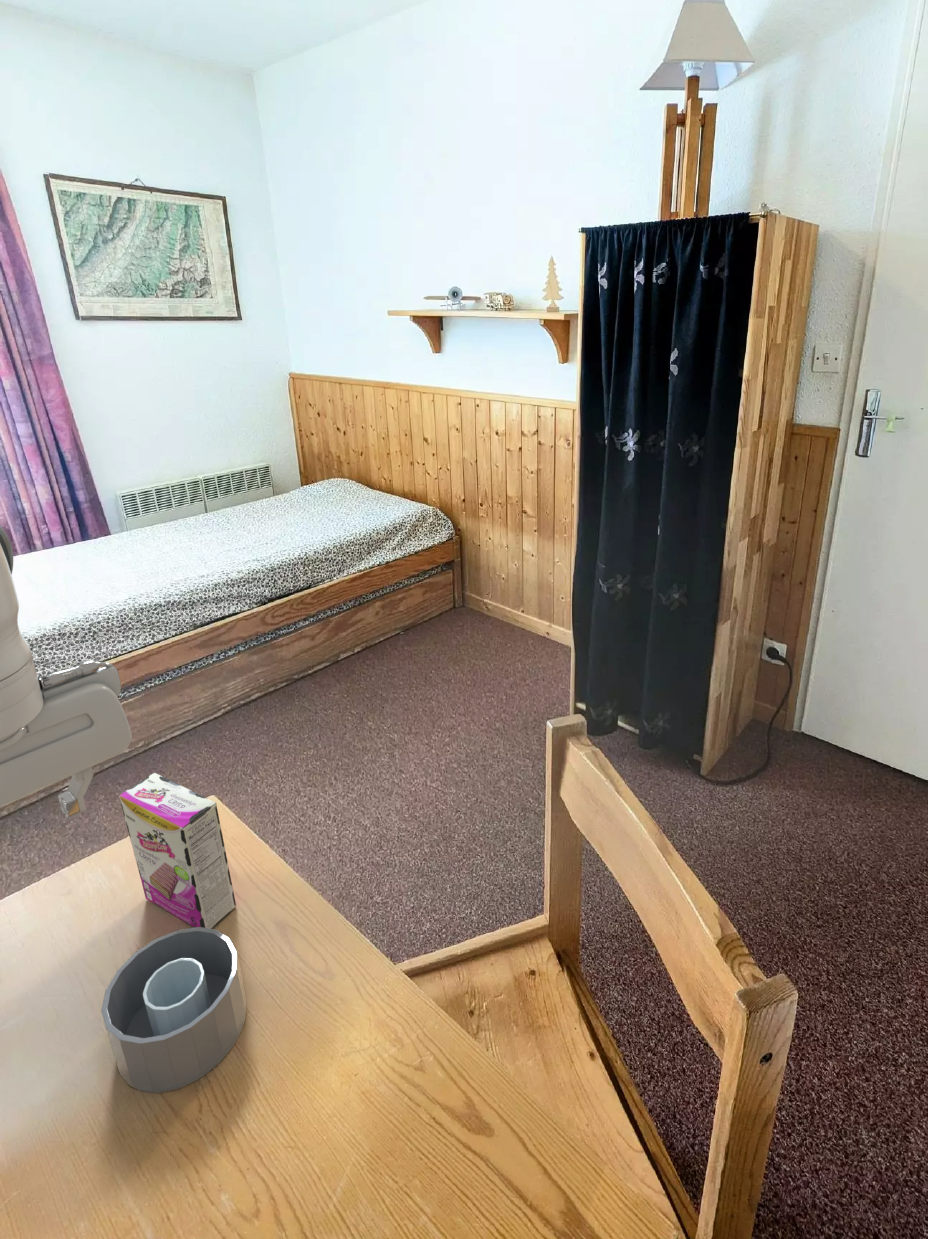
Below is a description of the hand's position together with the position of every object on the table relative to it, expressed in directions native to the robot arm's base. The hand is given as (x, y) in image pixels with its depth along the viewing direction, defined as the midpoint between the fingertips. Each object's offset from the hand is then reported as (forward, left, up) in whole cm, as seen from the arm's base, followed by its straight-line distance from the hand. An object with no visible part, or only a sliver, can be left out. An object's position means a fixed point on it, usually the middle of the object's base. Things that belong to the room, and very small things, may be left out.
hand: (12, 841), depth 57 cm
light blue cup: (+5, +8, -27) cm, 28 cm away
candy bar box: (-9, +15, -27) cm, 33 cm away
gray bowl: (+5, +8, -27) cm, 29 cm away
